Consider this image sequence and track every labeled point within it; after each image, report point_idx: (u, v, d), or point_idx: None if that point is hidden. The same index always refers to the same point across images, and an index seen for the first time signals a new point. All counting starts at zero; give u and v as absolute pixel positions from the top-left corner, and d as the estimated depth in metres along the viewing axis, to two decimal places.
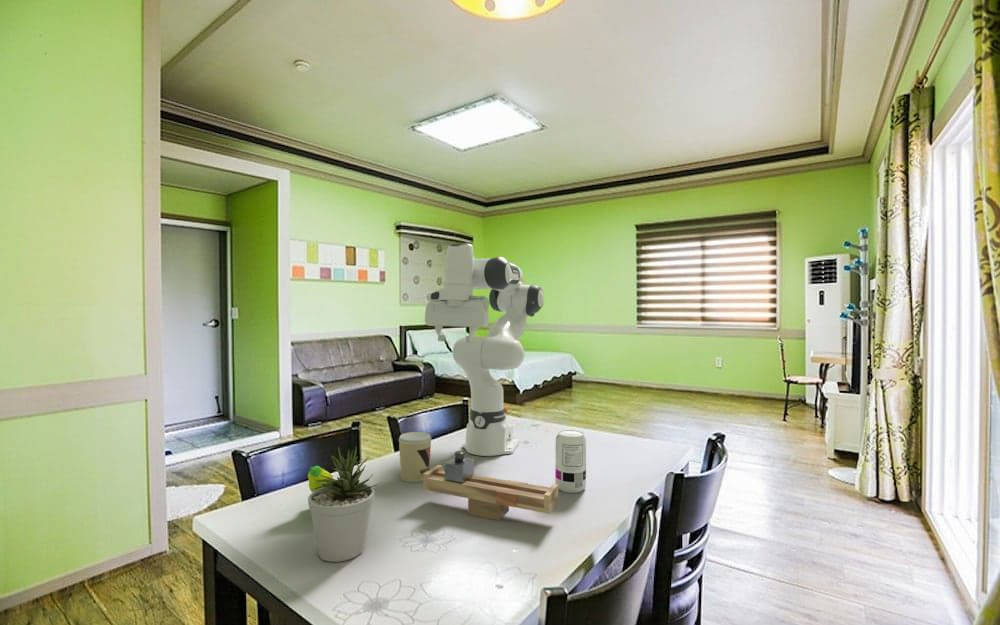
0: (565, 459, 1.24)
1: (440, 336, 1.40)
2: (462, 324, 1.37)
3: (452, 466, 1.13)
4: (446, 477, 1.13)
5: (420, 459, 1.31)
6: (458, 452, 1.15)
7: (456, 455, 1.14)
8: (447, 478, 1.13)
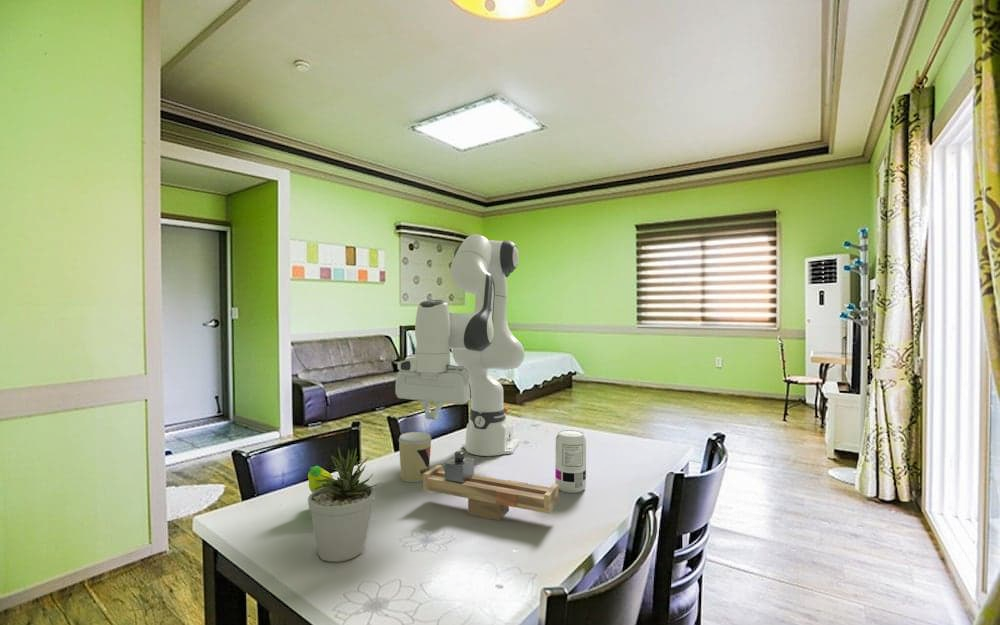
0: (565, 459, 1.24)
1: (428, 413, 1.18)
2: (439, 400, 1.15)
3: (452, 466, 1.13)
4: (446, 477, 1.13)
5: (420, 459, 1.31)
6: (458, 452, 1.15)
7: (456, 455, 1.14)
8: (447, 478, 1.13)
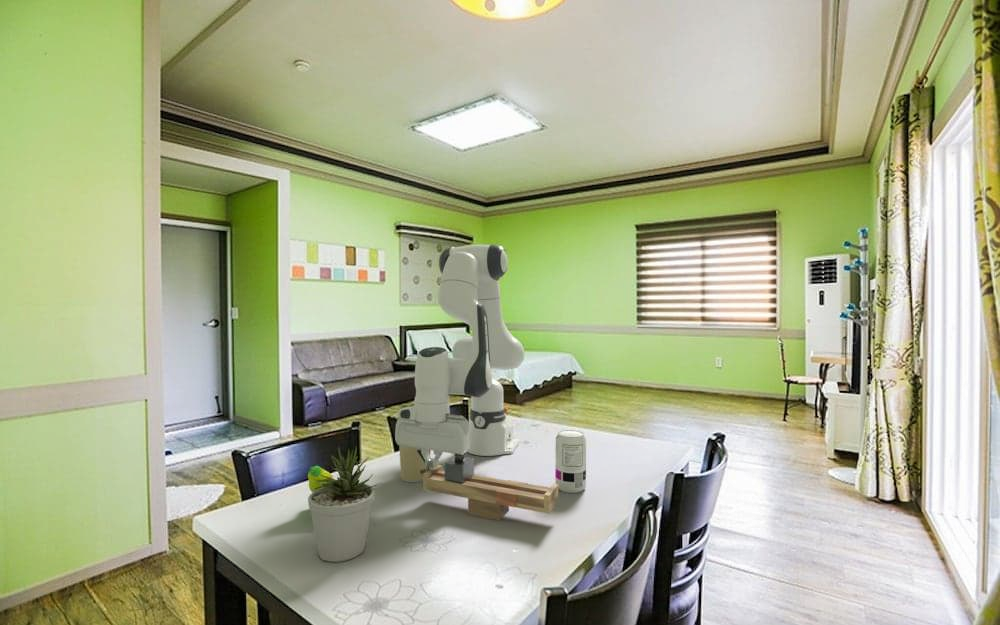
0: (565, 459, 1.24)
1: (427, 461, 1.18)
2: (438, 449, 1.15)
3: (452, 466, 1.13)
4: (446, 477, 1.13)
5: (420, 459, 1.31)
6: None
7: (456, 455, 1.14)
8: (447, 478, 1.13)
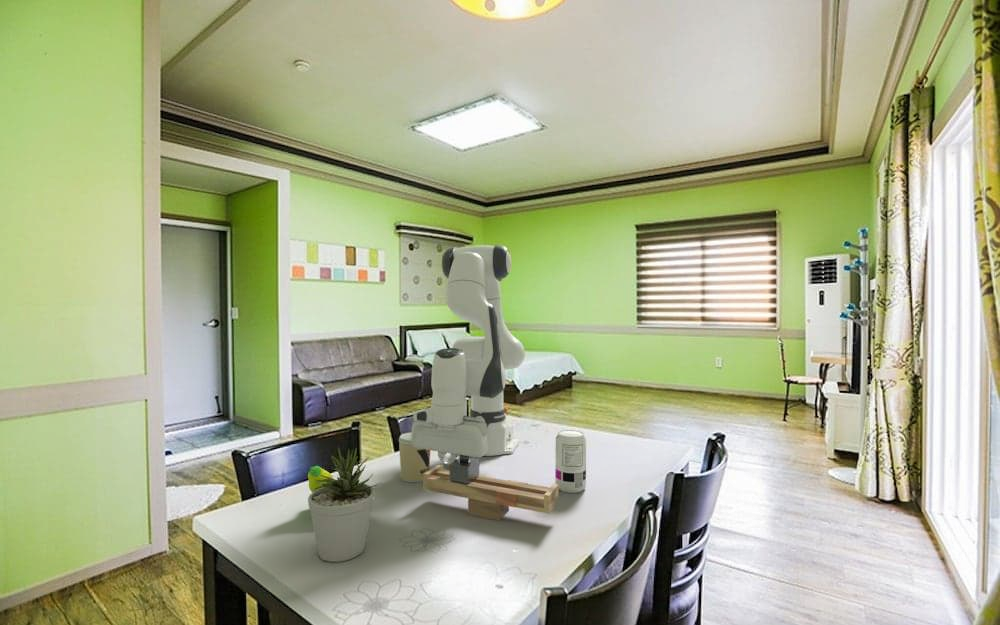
0: (565, 459, 1.24)
1: (444, 464, 1.16)
2: (456, 452, 1.13)
3: (457, 467, 1.12)
4: (451, 478, 1.13)
5: (420, 459, 1.31)
6: None
7: (461, 456, 1.14)
8: (452, 479, 1.13)
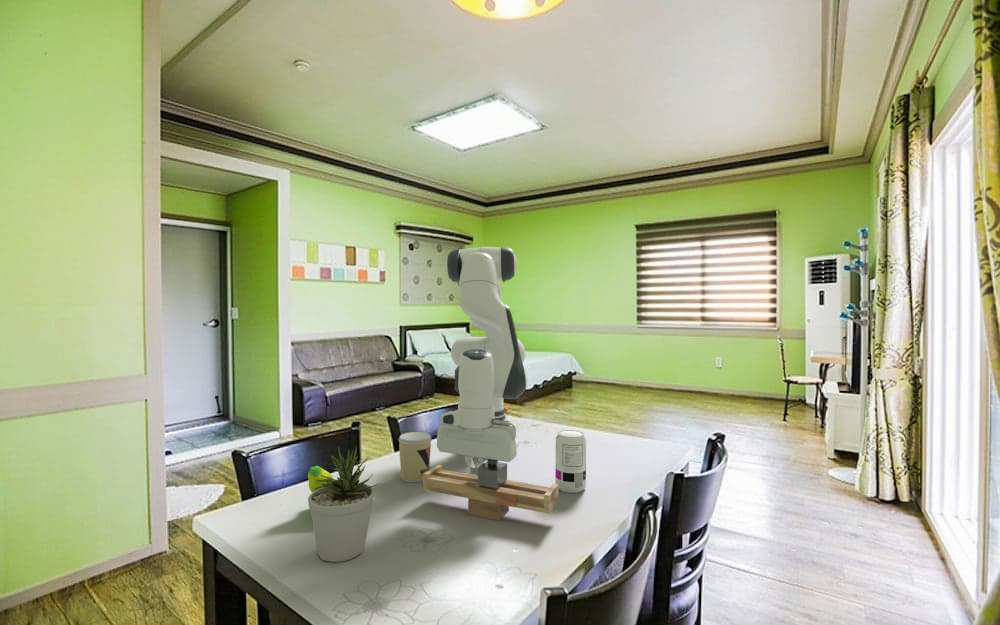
0: (565, 459, 1.24)
1: (472, 469, 1.13)
2: (484, 456, 1.10)
3: (486, 472, 1.09)
4: (479, 483, 1.10)
5: (420, 459, 1.31)
6: None
7: (489, 460, 1.11)
8: (480, 484, 1.10)
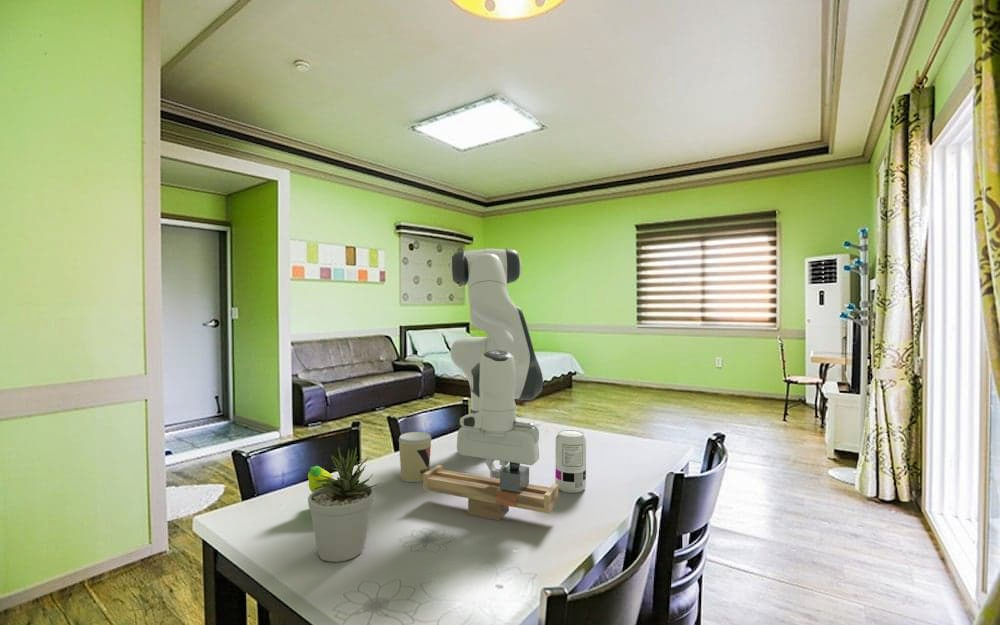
0: (565, 459, 1.24)
1: (493, 472, 1.10)
2: (506, 460, 1.08)
3: (508, 475, 1.07)
4: (501, 487, 1.07)
5: (420, 459, 1.31)
6: None
7: (511, 463, 1.08)
8: (503, 488, 1.07)
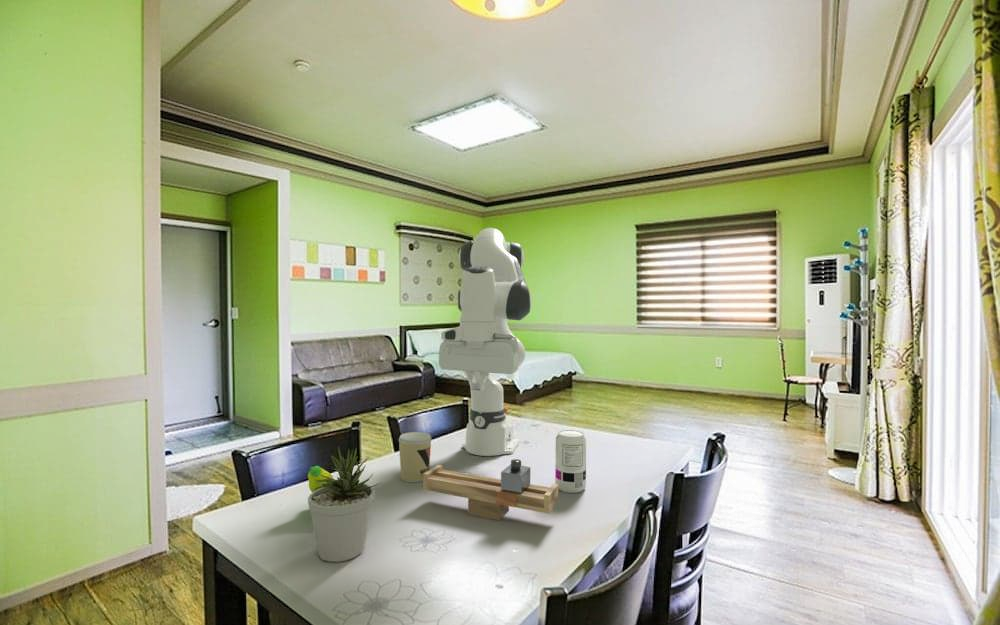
0: (565, 459, 1.24)
1: (473, 384, 1.13)
2: (486, 370, 1.11)
3: (509, 476, 1.07)
4: (503, 487, 1.07)
5: (420, 459, 1.31)
6: (514, 460, 1.09)
7: (513, 464, 1.08)
8: (504, 488, 1.07)
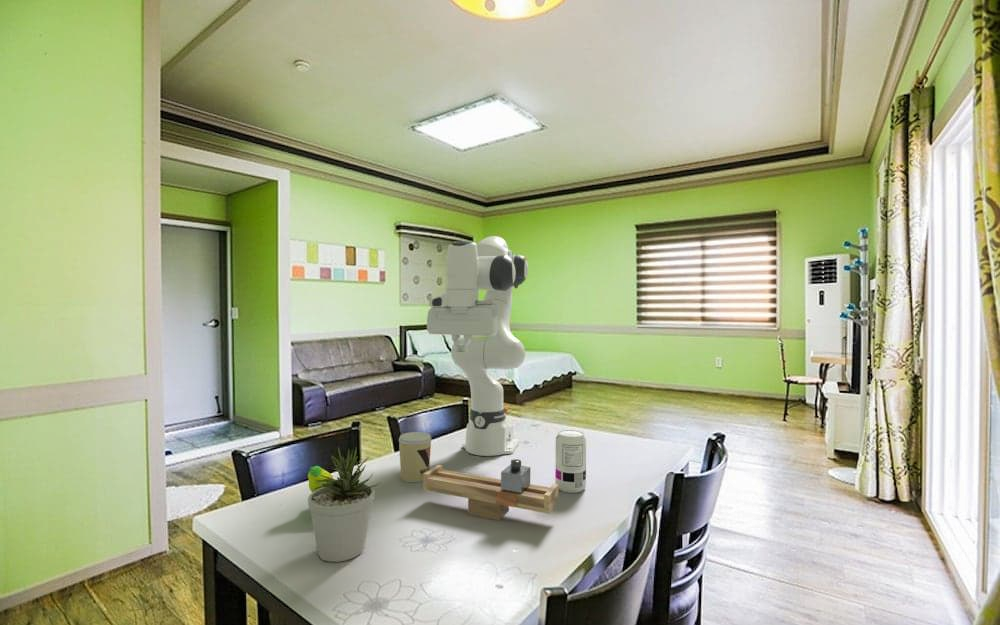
0: (565, 459, 1.24)
1: (458, 346, 1.25)
2: (469, 333, 1.23)
3: (509, 476, 1.07)
4: (503, 487, 1.07)
5: (420, 459, 1.31)
6: (514, 460, 1.09)
7: (513, 464, 1.08)
8: (504, 488, 1.07)
